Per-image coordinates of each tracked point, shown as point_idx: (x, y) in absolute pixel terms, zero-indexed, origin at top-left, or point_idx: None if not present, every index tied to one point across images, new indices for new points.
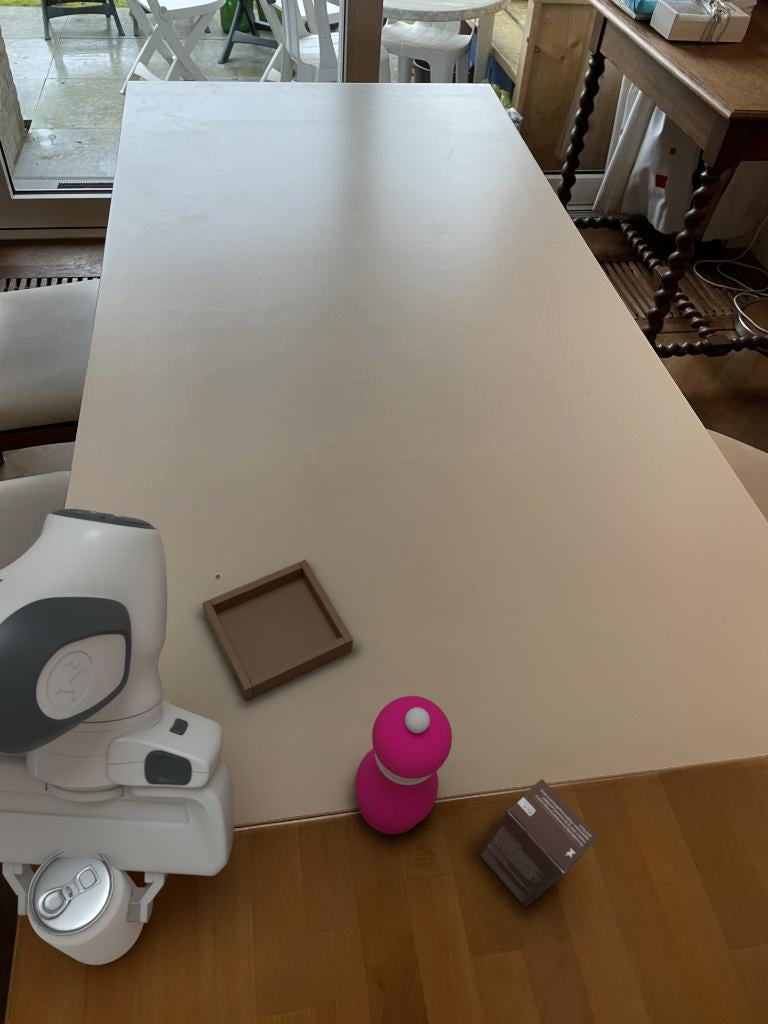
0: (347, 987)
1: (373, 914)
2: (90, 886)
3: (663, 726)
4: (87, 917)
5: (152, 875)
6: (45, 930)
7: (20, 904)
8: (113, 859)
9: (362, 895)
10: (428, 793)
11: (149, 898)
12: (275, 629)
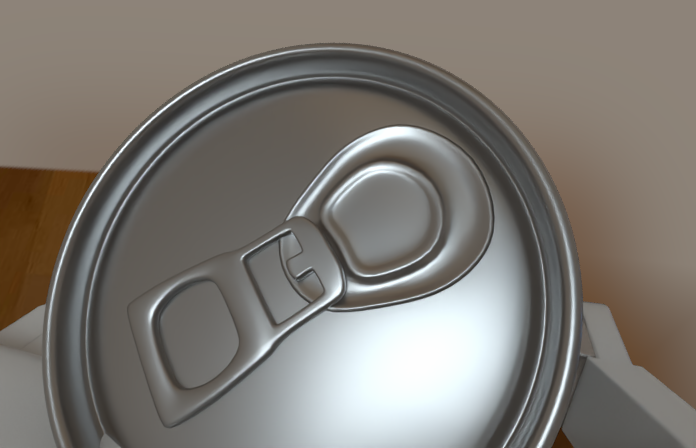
0: (66, 200)
1: (2, 288)
2: (178, 281)
3: None
4: (212, 137)
5: (35, 337)
6: (405, 56)
7: (608, 330)
8: (46, 429)
9: (4, 317)
10: None
11: None
12: None
